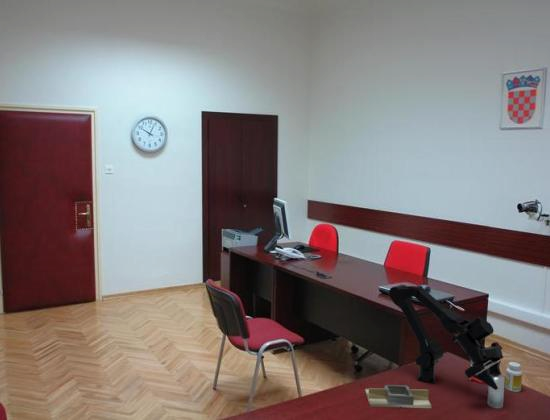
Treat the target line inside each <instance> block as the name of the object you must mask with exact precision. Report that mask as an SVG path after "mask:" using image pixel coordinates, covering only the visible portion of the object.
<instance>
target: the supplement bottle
mask: <svg viewBox="0 0 550 420" xmlns="http://www.w3.org/2000/svg"><path fill="white" fill-rule="evenodd" d="M522 379H523V371H522V370H521V364H520V363H519V362H514V361H510V362H508V367H507V368H506V369H505V381H504V383H505V384H504V388H505V389H506V390H508V391H511V392H515V393H518V392H521V391H522V381H523V380H522Z"/></svg>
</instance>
